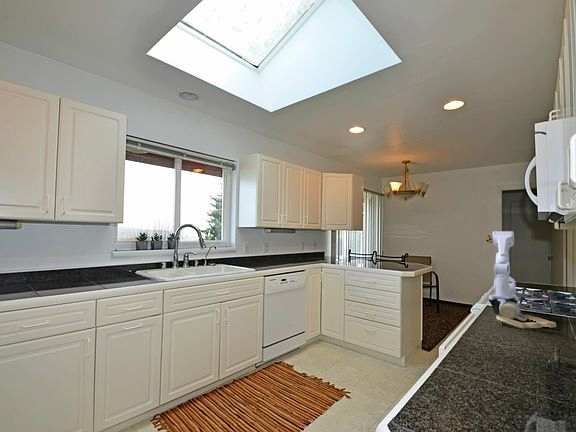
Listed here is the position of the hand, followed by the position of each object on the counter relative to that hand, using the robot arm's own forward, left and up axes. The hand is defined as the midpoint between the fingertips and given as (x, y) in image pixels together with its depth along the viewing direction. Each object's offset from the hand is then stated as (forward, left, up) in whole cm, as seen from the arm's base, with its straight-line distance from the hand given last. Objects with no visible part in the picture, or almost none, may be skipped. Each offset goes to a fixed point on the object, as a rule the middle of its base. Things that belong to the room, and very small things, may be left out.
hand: (503, 313), depth 153 cm
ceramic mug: (-1, +4, -2) cm, 5 cm away
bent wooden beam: (0, +12, -1) cm, 12 cm away
